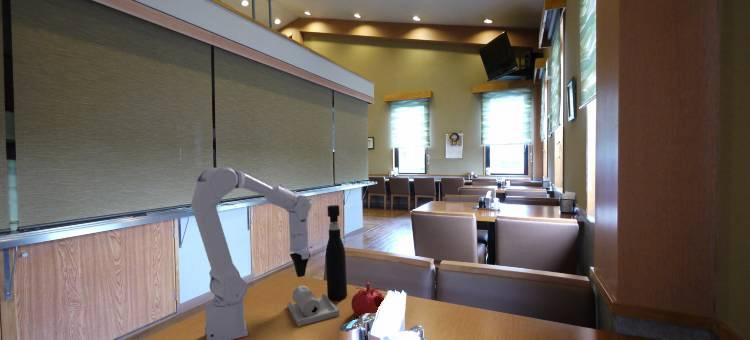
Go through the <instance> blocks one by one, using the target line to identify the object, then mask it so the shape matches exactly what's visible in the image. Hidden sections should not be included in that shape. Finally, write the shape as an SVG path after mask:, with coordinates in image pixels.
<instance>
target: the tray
mask: <svg viewBox="0 0 750 340" xmlns="http://www.w3.org/2000/svg"><path fill="white" fill-rule="evenodd" d="M316 299H317V300H318V301H319V303H320V310H319V312H318V313H317V314H316V315H314V316H310V317H307V316H305V315H303V313H302V312H301V310H300V309H299V307H298V306H297V304H296V303H294V304H292V303H291V302H290V301H287V302H286V305H287V309H288V311H289V312H290V314H291V316H292V318H293V320H294V321H295V324H296V325H297V327H302V326H305V325H308V324H312V323H316V322H319V321H323V320H328V319H331V318H334V317H339V316H340V310H339V308H338V307H337V306H336V305H335V304H334V302H332V300H330V299H329V298H328V295H327V294H325V293H322V294H321V297H319V298H316Z"/></svg>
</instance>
